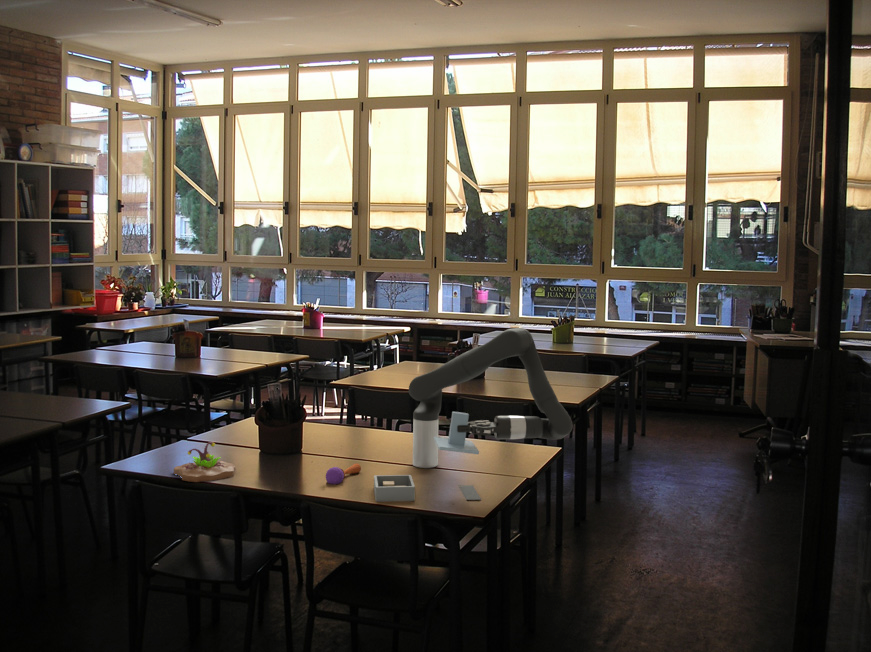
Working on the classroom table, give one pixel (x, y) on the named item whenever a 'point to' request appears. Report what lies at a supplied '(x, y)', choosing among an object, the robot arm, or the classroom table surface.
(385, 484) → the wooden block
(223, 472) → the plant
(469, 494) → the rubber mat
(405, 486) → the parts tub
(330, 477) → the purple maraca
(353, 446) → the classroom table surface
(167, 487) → the classroom table surface
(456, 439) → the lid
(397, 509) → the classroom table surface
